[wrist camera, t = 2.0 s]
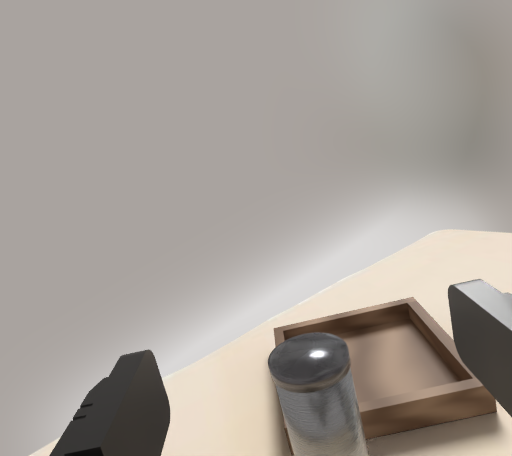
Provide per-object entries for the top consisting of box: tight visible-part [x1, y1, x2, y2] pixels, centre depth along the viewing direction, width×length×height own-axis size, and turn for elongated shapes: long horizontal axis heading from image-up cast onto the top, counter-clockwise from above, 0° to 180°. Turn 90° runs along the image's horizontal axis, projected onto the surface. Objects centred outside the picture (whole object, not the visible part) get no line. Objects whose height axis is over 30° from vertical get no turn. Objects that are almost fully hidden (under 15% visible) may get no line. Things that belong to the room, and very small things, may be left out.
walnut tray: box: [274, 297, 497, 455], centre depth 40 cm, size 16×16×2 cm
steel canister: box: [268, 332, 369, 456], centre depth 25 cm, size 5×5×12 cm
